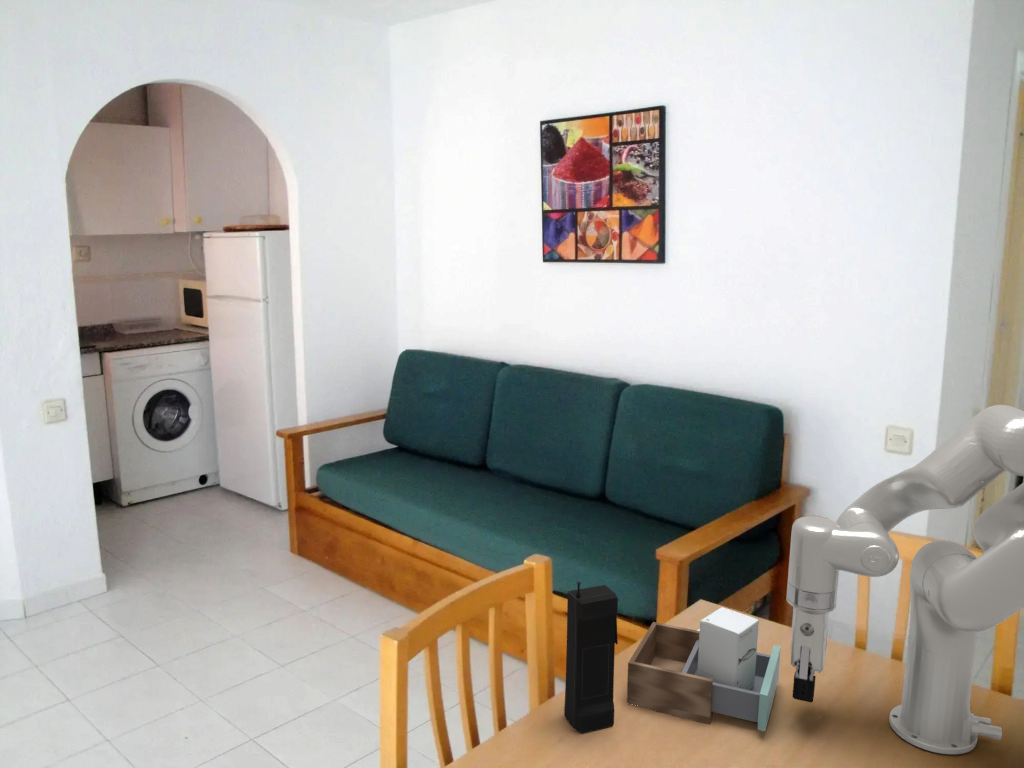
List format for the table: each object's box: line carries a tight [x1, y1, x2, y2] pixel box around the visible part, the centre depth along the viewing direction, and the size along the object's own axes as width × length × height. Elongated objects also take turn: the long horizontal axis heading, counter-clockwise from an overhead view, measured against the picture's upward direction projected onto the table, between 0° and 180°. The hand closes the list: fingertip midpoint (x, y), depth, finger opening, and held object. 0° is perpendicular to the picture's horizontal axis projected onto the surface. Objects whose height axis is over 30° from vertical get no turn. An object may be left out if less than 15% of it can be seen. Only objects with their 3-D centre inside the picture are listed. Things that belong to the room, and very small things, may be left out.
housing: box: [626, 621, 715, 725], centre depth 143 cm, size 14×16×8 cm
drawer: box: [682, 640, 782, 732], centre depth 139 cm, size 14×17×6 cm
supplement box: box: [697, 606, 760, 690], centre depth 138 cm, size 7×7×13 cm
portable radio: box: [563, 581, 619, 734], centre depth 132 cm, size 8×6×25 cm
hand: (803, 697), depth 134 cm, fingers closed
